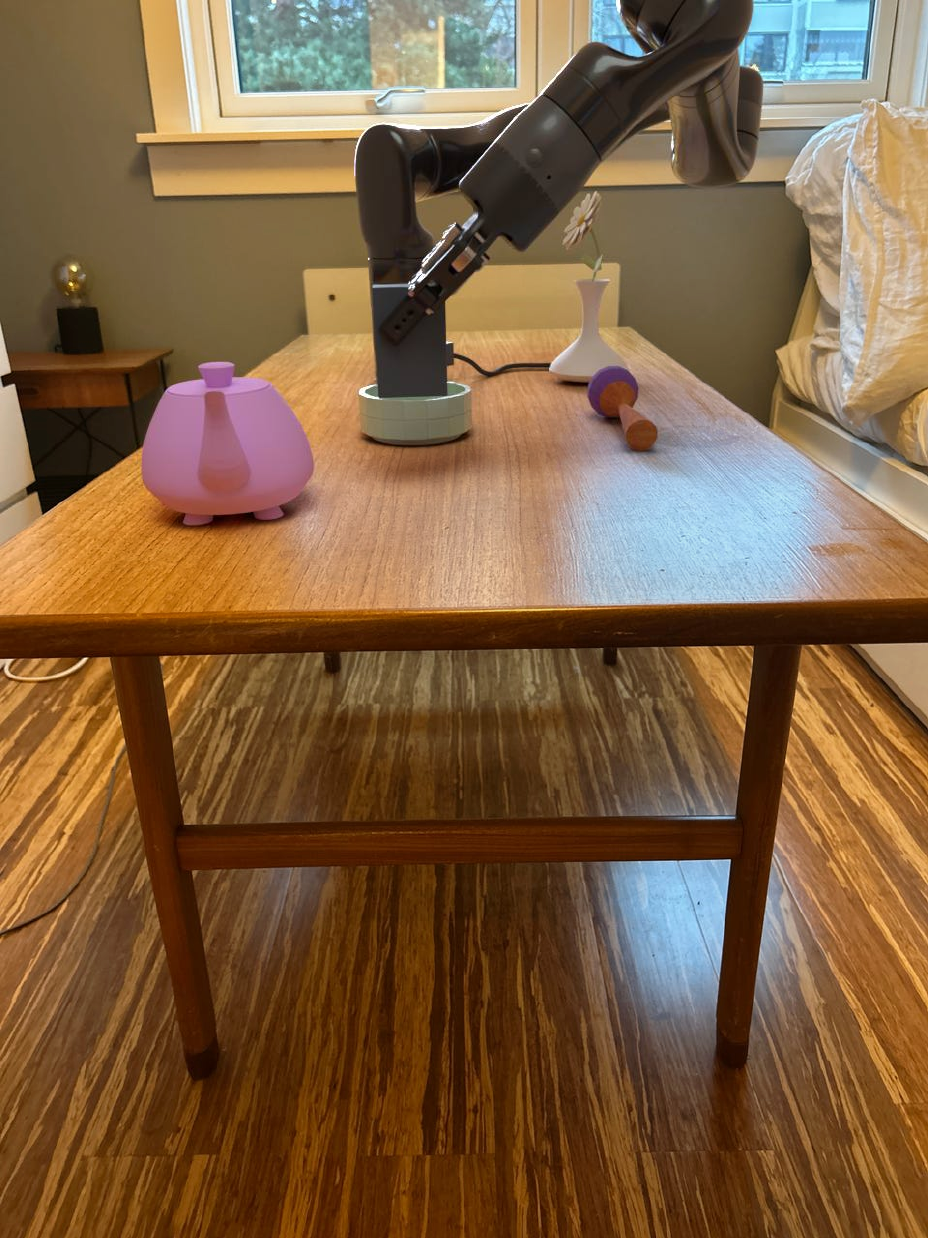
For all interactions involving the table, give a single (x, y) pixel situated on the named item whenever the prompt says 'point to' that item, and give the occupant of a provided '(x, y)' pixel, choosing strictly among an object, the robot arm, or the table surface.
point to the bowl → (416, 416)
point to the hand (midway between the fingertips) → (386, 335)
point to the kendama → (621, 405)
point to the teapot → (225, 448)
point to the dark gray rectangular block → (410, 349)
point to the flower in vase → (586, 307)
